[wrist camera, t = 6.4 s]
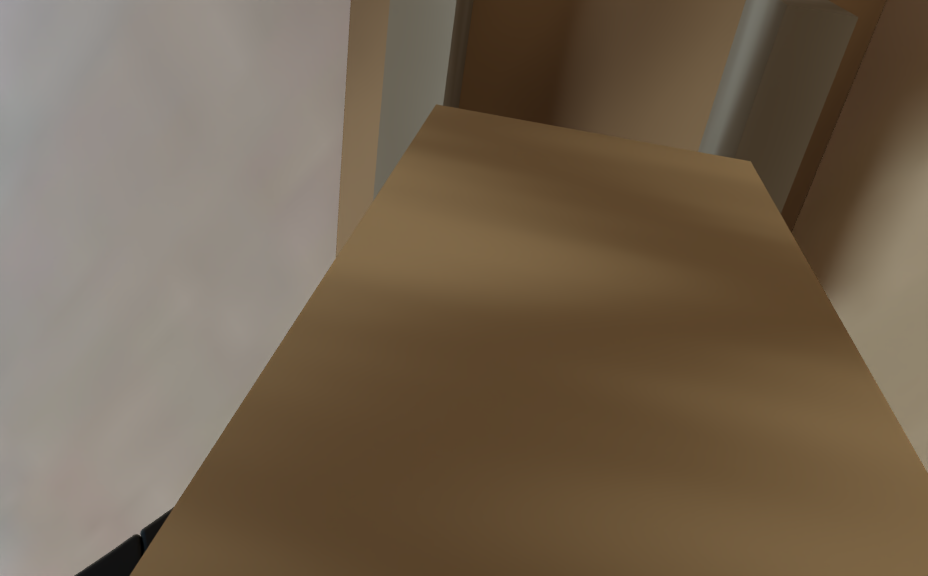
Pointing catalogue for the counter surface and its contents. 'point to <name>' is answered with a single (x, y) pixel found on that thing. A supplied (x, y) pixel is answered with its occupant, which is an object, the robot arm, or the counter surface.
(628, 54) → the slot board
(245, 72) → the counter surface
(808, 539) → the oak rail end
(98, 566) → the robot arm
